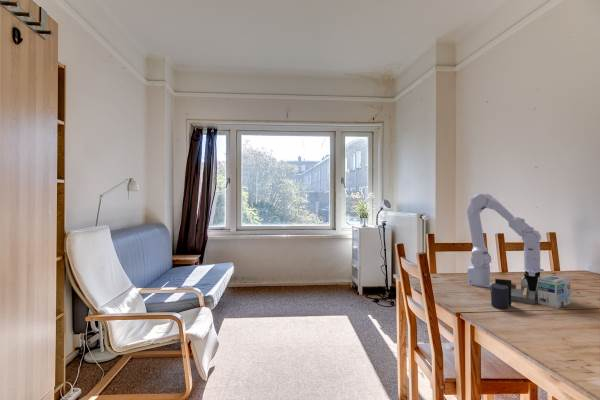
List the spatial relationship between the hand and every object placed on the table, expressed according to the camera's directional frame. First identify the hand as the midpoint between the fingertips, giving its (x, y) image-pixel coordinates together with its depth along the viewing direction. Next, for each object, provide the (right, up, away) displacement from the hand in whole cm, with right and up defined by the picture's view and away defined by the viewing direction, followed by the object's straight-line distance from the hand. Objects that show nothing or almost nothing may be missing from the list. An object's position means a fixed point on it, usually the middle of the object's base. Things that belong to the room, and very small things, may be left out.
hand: (532, 289), depth 139 cm
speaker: (-23, -3, -16) cm, 28 cm away
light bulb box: (-2, -2, -14) cm, 14 cm away
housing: (0, -1, 0) cm, 1 cm away
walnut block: (-6, -2, +5) cm, 8 cm away
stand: (-12, -2, -6) cm, 13 cm away
